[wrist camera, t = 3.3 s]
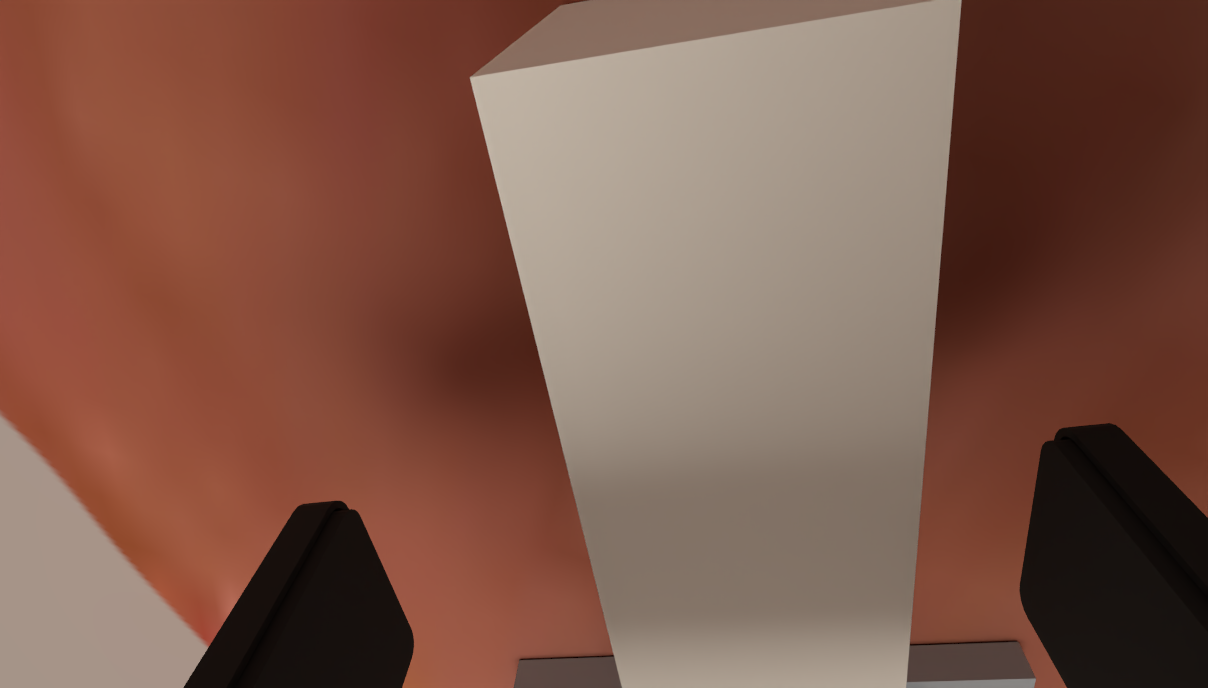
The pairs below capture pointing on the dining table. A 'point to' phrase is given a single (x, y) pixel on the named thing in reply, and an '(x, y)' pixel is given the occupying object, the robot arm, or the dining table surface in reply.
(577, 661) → the cradle
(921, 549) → the dining table surface
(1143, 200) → the dining table surface
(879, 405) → the long beige rectangular prism
